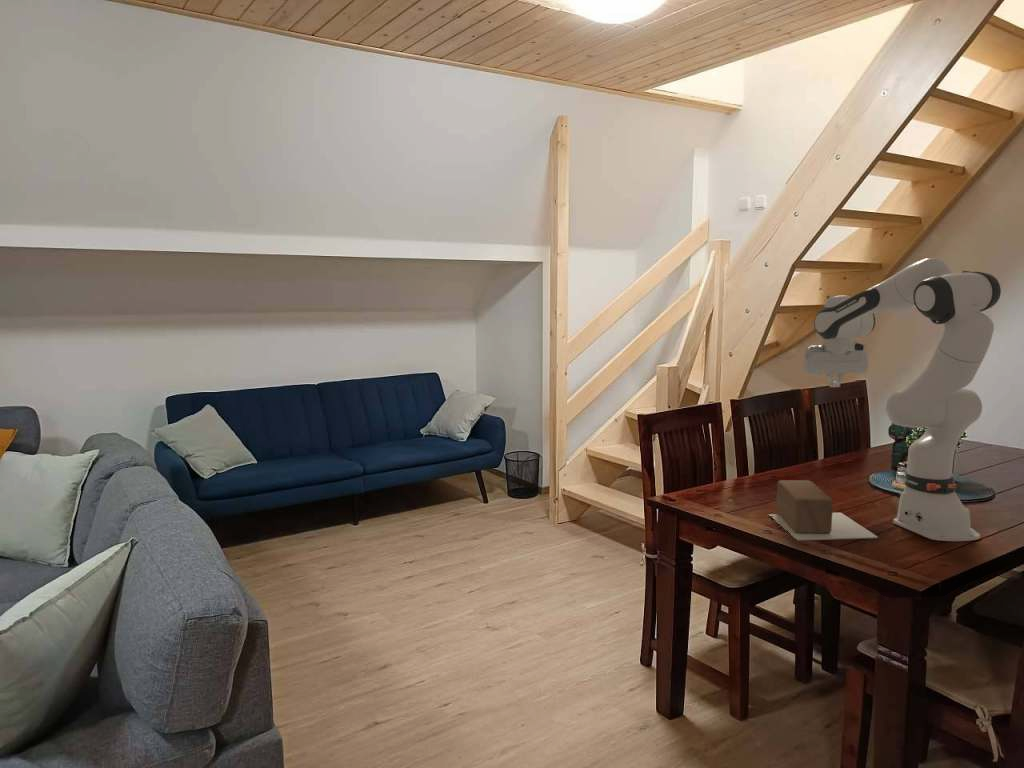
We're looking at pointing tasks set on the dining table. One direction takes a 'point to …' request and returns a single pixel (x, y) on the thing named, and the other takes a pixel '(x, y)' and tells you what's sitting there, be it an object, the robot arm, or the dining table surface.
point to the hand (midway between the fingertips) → (834, 386)
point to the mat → (839, 529)
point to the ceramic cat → (899, 443)
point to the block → (804, 506)
